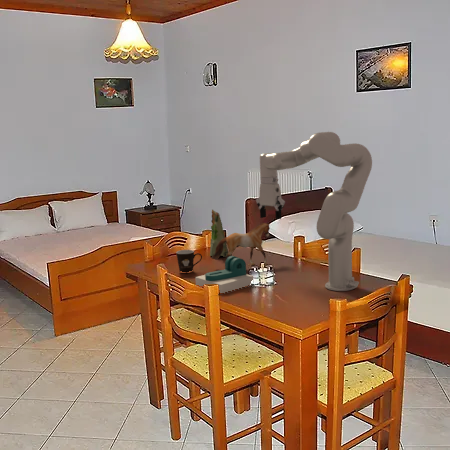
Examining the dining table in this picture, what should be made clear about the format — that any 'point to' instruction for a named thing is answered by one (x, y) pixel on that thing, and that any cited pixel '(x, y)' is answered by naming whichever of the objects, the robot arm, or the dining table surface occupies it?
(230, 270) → the bracket
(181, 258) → the coffee mug
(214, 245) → the mossy rock spire
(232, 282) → the block
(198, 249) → the dining table surface
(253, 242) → the horse figurine
